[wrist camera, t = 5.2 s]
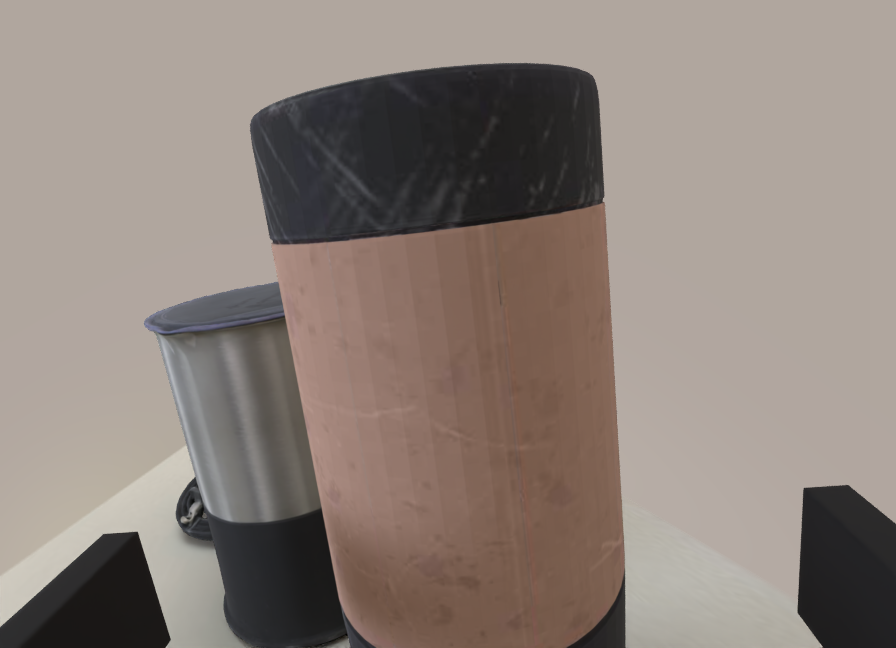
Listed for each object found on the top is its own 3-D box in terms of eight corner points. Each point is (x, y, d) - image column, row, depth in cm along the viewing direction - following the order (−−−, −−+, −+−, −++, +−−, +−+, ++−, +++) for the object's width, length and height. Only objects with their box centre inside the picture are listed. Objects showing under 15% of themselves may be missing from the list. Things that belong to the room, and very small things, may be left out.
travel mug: (502, 1064, 11) (346, 43, 6) (342, 777, 17) (200, 142, 12) (688, 794, 15) (680, 69, 11) (509, 640, 21) (452, 132, 17)
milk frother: (382, 661, 21) (316, 310, 18) (53, 652, 24) (-62, 344, 20) (438, 475, 35) (407, 256, 31) (224, 482, 37) (173, 280, 34)
